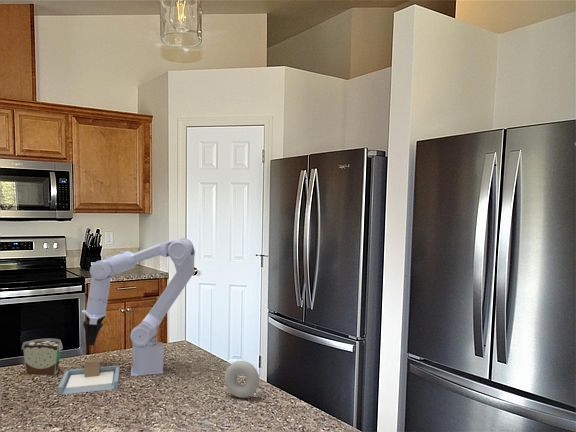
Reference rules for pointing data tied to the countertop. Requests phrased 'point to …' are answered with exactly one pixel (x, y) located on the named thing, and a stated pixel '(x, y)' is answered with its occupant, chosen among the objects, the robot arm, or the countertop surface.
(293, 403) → the countertop surface
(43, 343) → the food container
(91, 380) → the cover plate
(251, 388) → the donut
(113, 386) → the open box
